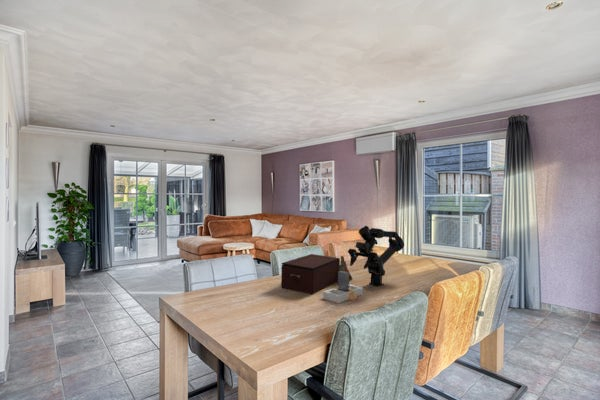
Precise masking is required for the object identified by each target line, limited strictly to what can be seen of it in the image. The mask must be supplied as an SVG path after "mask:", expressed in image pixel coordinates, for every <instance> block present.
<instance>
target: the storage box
mask: <svg viewBox="0 0 600 400" xmlns="http://www.w3.org/2000/svg"><path fill="white" fill-rule="evenodd" d="M340 261H341V257H335V256H327V255H320V254H315V253H310V254H307V255H305V256H301V257H297V258H294V259H291V260H288V261H285V262H282V263H281V278H280V279H281V281H280V282H281V287H280V288H281V289H284V290H288V291H293V292H298V293H301V294H307V295H311V296H312V295H314V294H316V293H319V292H321V291H324V290H325V289H326V288H328V287H330V286H333V285H334V284H336V283H338V282H337V280H338V272H339V266H340V264H341V262H340Z"/></svg>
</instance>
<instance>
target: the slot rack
mask: <svg viewBox="0 0 600 400" xmlns="http://www.w3.org/2000/svg"><path fill="white" fill-rule="evenodd" d="M363 294H364V287H361V286H358V285H355V284H354V285H353V284H350V283H349V291H347V292H344V291H341V290H338V286H337V287H333V288H330V289H327V290H322V299H324V300H327V301H330V302H333V303H337V304H340V303H342V302H346V301H354V300H356V299H358V298H357V297H359V296H362V295H363Z"/></svg>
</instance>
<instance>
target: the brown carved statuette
mask: <svg viewBox="0 0 600 400" xmlns="http://www.w3.org/2000/svg"><path fill="white" fill-rule="evenodd" d="M339 271H345V272H349V282H350V281H353V276H352V275H351V273H350V271H349V268H348V265H347V262H346V261H345V257H344V256H343V255H341V256H340V266H339ZM336 283H338V280H337V282H336Z"/></svg>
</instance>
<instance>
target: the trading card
mask: <svg viewBox="0 0 600 400" xmlns="http://www.w3.org/2000/svg"><path fill="white" fill-rule="evenodd" d="M333 307H334V308H338V309H340V307H339V306H334V305H331V306H329V307H327V309H324V310H322V311H320V313H319V312H318V314H316V315H314V316H313V317H312V318H313V319H316V318H317V320H321V321H324V322H328V323H331V322H332V323H331V324H335V323H336V322H338V321H339V320H340V318H338V319H337V320H335V322H334V321H329V320H326V319H322V318H319V317H317V316H318V315H321V314H322V313H324V312H325V311H327V310H330V309H331V308H333ZM341 308H342V310H345V309H346V310H345V311H348V312H347V313H346V314H347V315H349V314H350V313H352V312H353V310H351V309H347V308H343V307H341ZM346 314H344V315H343V316H344V317H345V316H346Z"/></svg>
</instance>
